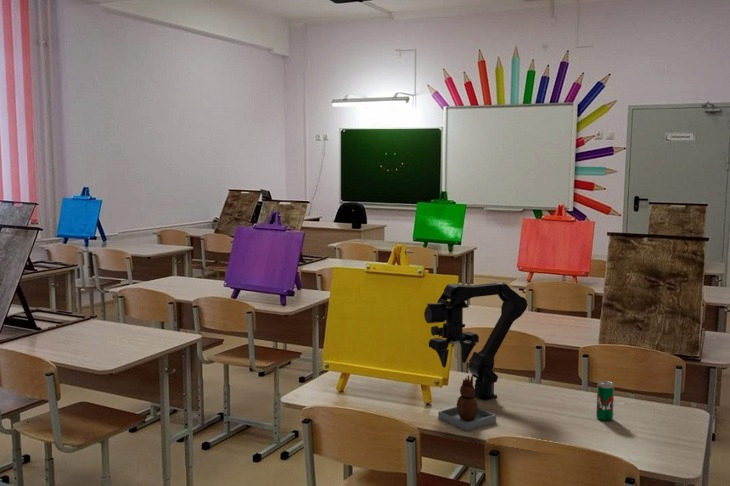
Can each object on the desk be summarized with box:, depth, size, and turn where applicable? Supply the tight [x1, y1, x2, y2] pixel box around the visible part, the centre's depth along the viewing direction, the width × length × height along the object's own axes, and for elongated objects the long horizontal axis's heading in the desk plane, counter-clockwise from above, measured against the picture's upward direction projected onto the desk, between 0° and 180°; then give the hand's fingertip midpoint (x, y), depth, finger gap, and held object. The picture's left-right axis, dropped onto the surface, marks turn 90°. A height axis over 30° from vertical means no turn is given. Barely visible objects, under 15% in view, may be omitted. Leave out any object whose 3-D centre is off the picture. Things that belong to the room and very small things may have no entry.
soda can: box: [595, 380, 615, 422], centre depth 217 cm, size 5×5×12 cm
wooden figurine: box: [456, 374, 479, 421], centre depth 216 cm, size 7×6×15 cm
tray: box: [437, 406, 497, 433], centre depth 217 cm, size 13×13×2 cm
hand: (453, 364), depth 234 cm, fingers open, 9 cm apart
